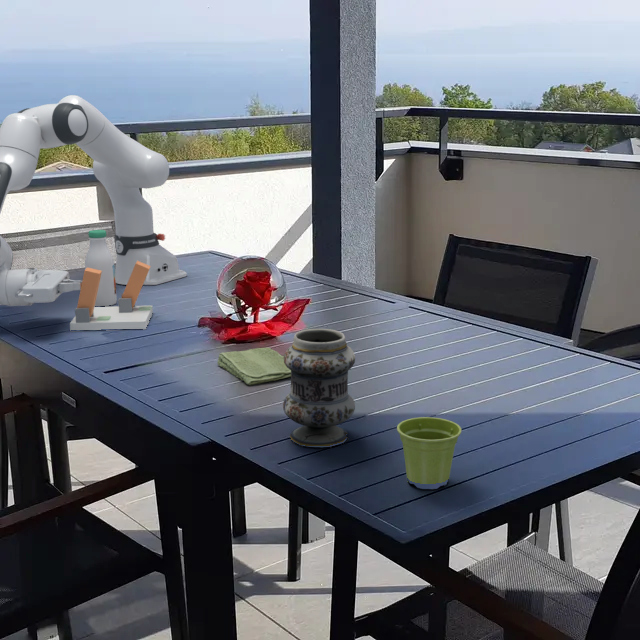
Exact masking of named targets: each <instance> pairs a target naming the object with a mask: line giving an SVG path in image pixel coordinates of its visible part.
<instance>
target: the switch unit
mask: <svg viewBox="0 0 640 640" xmlns="http://www.w3.org/2000/svg"><path fill="white" fill-rule="evenodd" d="M123 293H124V292H123ZM123 293H121V294H120V295H121V298H118V299H117V302H118V306H115V305H113V306H105V307H94V311H93V314H92V316H91V317H90V315H89V308H77V307H75V308H74V312H75V313H74V315H75V316H74V317H73V319H72V320H71V321H70V323H69V329H70V332H72V331H71V330H101V329H143V330H147V328H148V326H147V325H149V323H150V321H151V319H150V318H152V316H153V314H154V311H153V310H154V308H153V305H136V304H135V305H134V307H133V308H132V298H122V295H123ZM152 313H153V314H152ZM149 320H150V321H149ZM146 327H147V328H146Z"/></svg>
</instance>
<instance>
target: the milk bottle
mask: <svg viewBox="0 0 640 640" xmlns="http://www.w3.org/2000/svg"><path fill="white" fill-rule="evenodd" d="M87 235H88V240H89V247H88V250H87V252H86V256H85V260H84V270H85V269H86V268H87V267H88V268H92V269H96V270H101V271H102V273H101V278H100V283H99V288H98V292H97V297H96V302H95V306H105V307H110V306H109V305H111V306H115V305H116V304H117V302H118V299H117V283H116V280H115V270H116V267H115V262H114V257H113V255H112V252H111V250H110V248H109V246H108V244H107V231H106V230H105V229H92V230H89V231H88V234H87Z"/></svg>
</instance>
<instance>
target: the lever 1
mask: <svg viewBox="0 0 640 640" xmlns="http://www.w3.org/2000/svg"><path fill="white" fill-rule="evenodd" d="M101 273H102V271H101V270H96V269H92V268H88V267H87V268H86V269H85V268H84V272H83V276H82V280H81V281H82V285H81V289H80V290H79V296H78V302H77V306H76V308H89V315H90V317H91V316H92V314H93V311H94V307H95V302H96V297H97V292H98V288H99V283H100V278H101Z"/></svg>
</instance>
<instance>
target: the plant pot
mask: <svg viewBox="0 0 640 640" xmlns="http://www.w3.org/2000/svg"><path fill="white" fill-rule="evenodd" d="M396 430H397V433H398V434H399V439H400V441H401V442H402V448H403V455H404V461H405V462H404V463H405V464H404V465H405V474H406V479H407V478H408V479H409V480H410V481H412V482H415V483H420V484H436V483H442V482H445V481H446V480H448V479H449V480H450V476H451V471H452V470H451V469H452V463H453V458H454V453H455V447H456V445H457V442H458V438H459V436H460V435H461V434H462V427H461V425H459V424H458V423H456V422H454V421H451V420H449V419H445V418H441V417H427V416H423V417H412V418H409V419H405V420H402V421H401V422H399V423H398V424H397V427H396Z"/></svg>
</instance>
